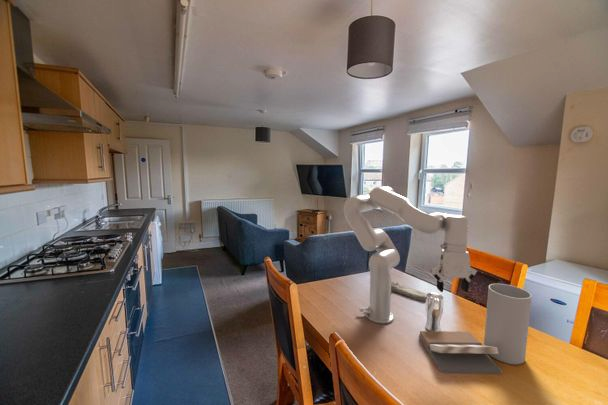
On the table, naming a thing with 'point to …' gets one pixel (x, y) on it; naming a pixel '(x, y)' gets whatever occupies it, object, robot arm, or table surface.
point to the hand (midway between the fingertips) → (452, 290)
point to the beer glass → (434, 311)
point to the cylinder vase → (507, 322)
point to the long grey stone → (408, 291)
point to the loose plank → (464, 349)
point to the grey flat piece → (458, 360)
